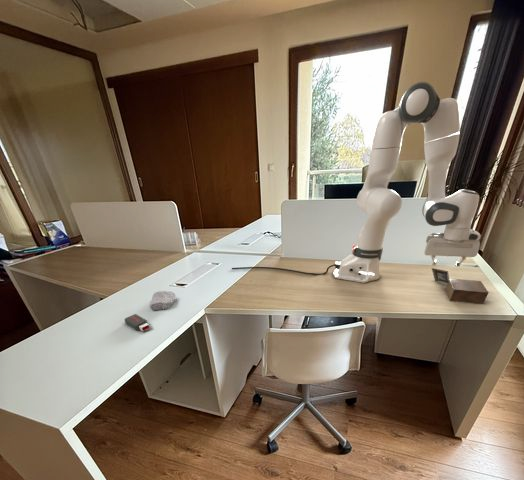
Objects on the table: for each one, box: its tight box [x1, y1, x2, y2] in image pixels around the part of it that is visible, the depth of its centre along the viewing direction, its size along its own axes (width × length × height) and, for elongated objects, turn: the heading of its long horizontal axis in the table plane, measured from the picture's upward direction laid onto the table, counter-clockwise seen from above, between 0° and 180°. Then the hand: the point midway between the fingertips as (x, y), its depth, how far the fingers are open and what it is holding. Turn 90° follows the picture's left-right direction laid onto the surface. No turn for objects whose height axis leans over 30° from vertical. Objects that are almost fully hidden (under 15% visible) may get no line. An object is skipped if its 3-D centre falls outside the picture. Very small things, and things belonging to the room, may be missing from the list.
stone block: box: [148, 290, 176, 311], centre depth 126 cm, size 12×5×10 cm
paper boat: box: [431, 267, 450, 286], centre depth 131 cm, size 12×6×9 cm
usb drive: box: [124, 313, 151, 333], centre depth 112 cm, size 5×12×3 cm, turn 48°
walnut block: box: [444, 278, 490, 305], centre depth 119 cm, size 12×12×5 cm
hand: (445, 265), depth 128 cm, fingers open, 8 cm apart
